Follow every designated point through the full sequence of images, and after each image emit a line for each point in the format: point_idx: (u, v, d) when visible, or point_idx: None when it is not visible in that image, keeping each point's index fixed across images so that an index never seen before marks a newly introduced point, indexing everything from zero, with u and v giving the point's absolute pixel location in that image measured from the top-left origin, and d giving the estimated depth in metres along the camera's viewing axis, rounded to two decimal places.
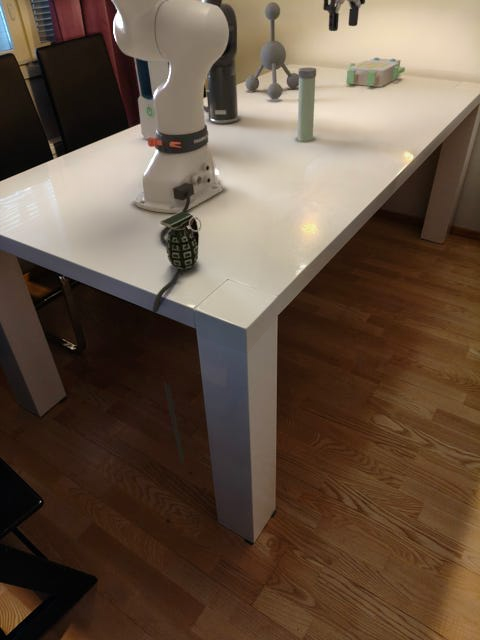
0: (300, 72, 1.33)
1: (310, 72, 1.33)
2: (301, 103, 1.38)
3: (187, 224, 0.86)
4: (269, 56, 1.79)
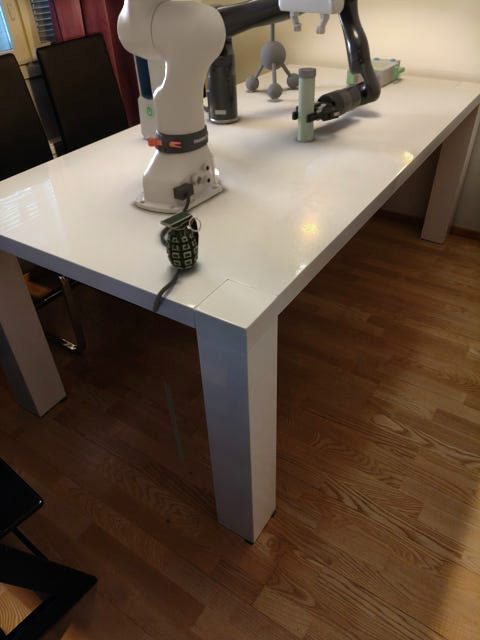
0: (300, 72, 1.33)
1: (310, 72, 1.33)
2: (301, 103, 1.38)
3: (187, 224, 0.86)
4: (269, 56, 1.79)
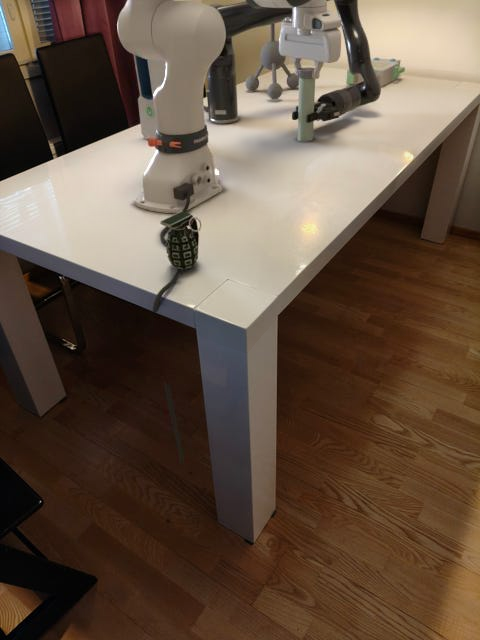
0: (300, 72, 1.33)
1: (310, 72, 1.33)
2: (301, 103, 1.38)
3: (187, 224, 0.86)
4: (269, 56, 1.79)
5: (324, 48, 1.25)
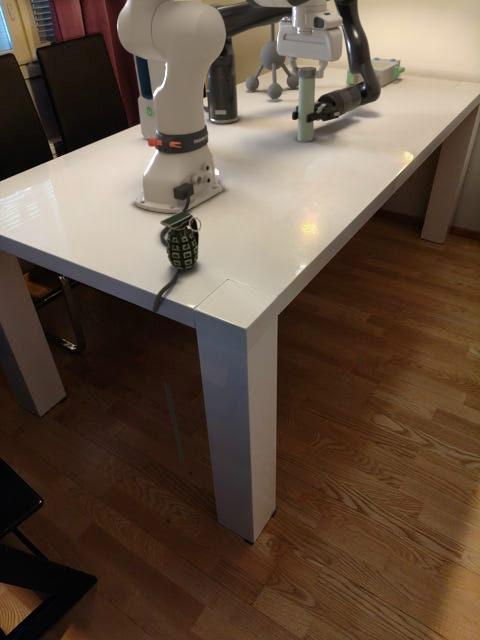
0: (309, 72, 1.32)
1: None
2: (301, 103, 1.38)
3: (187, 224, 0.86)
4: (269, 56, 1.79)
5: (326, 47, 1.25)
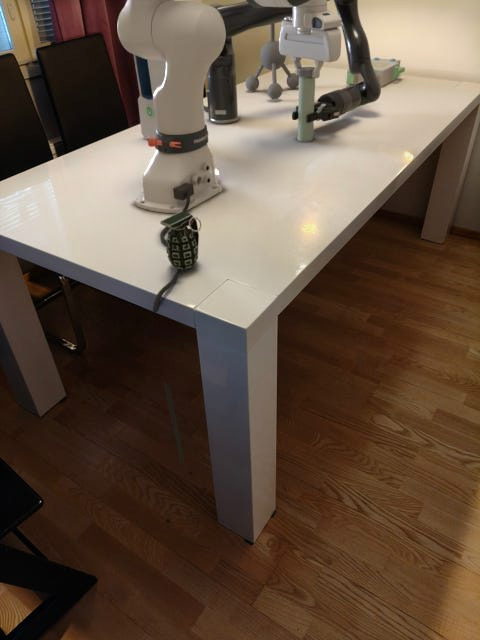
0: (309, 72, 1.32)
1: None
2: (301, 103, 1.38)
3: (187, 224, 0.86)
4: (269, 56, 1.79)
5: (324, 47, 1.25)
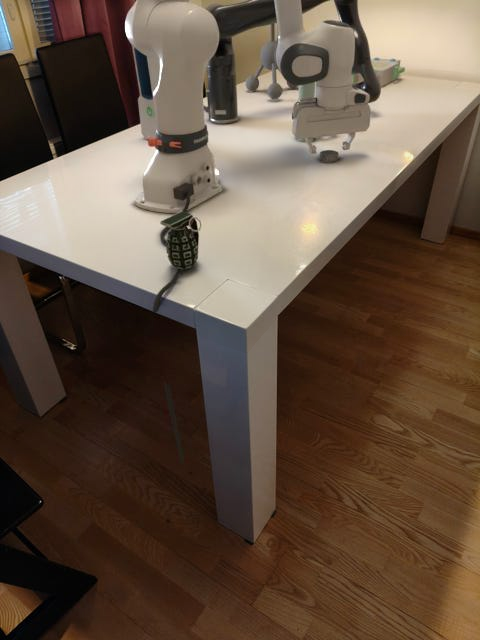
0: (337, 155, 1.30)
1: None
2: None
3: (187, 224, 0.86)
4: (269, 56, 1.79)
5: (362, 118, 1.25)
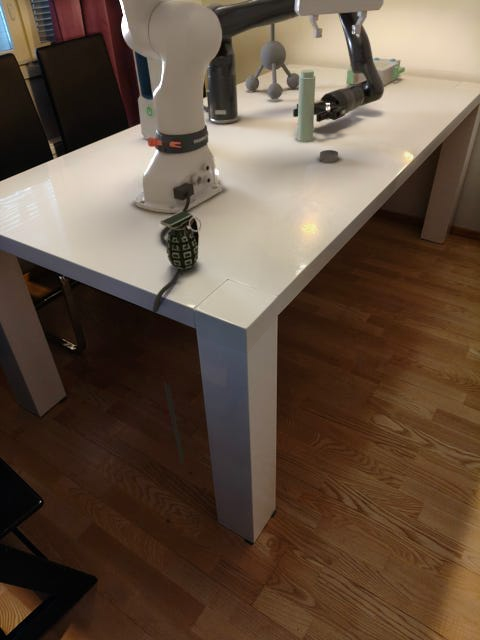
0: (337, 155, 1.30)
1: None
2: (301, 103, 1.38)
3: (187, 224, 0.86)
4: (269, 56, 1.79)
5: None
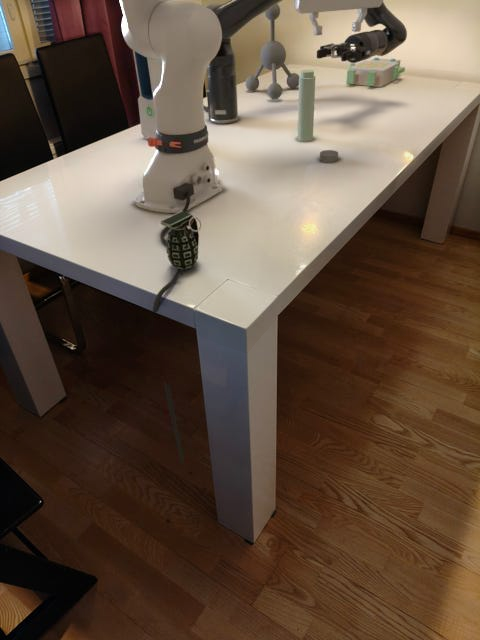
0: (337, 155, 1.30)
1: None
2: (301, 103, 1.38)
3: (187, 224, 0.86)
4: (269, 56, 1.79)
5: None
